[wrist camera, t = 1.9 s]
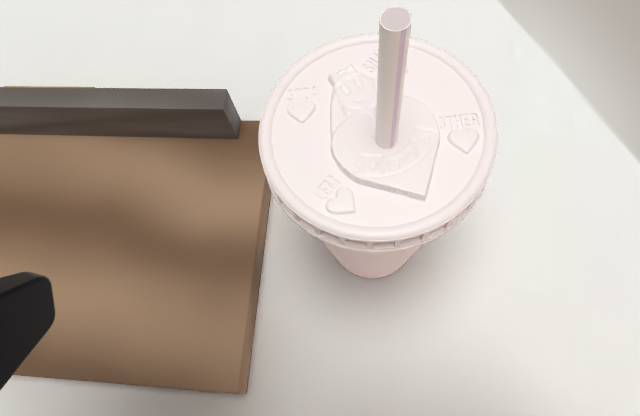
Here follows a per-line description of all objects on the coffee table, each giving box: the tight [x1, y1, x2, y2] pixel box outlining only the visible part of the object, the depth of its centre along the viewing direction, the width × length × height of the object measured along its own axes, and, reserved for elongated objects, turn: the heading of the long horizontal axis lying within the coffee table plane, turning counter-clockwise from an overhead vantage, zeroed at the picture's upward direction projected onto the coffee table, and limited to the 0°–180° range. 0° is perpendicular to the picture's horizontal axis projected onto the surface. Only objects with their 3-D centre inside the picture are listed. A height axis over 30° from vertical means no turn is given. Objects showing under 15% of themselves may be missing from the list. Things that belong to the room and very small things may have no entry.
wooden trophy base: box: [0, 86, 271, 393], centre depth 21 cm, size 12×18×4 cm
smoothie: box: [258, 6, 498, 278], centre depth 15 cm, size 6×6×14 cm
